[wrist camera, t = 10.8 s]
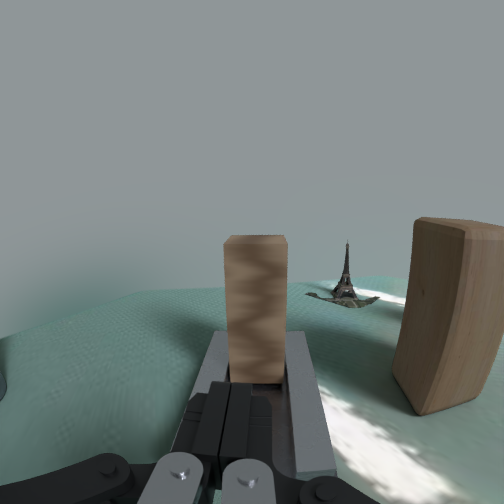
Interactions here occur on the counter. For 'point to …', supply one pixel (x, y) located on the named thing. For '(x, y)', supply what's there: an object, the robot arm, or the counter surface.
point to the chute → (283, 407)
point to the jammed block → (256, 306)
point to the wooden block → (450, 312)
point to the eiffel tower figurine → (348, 297)
